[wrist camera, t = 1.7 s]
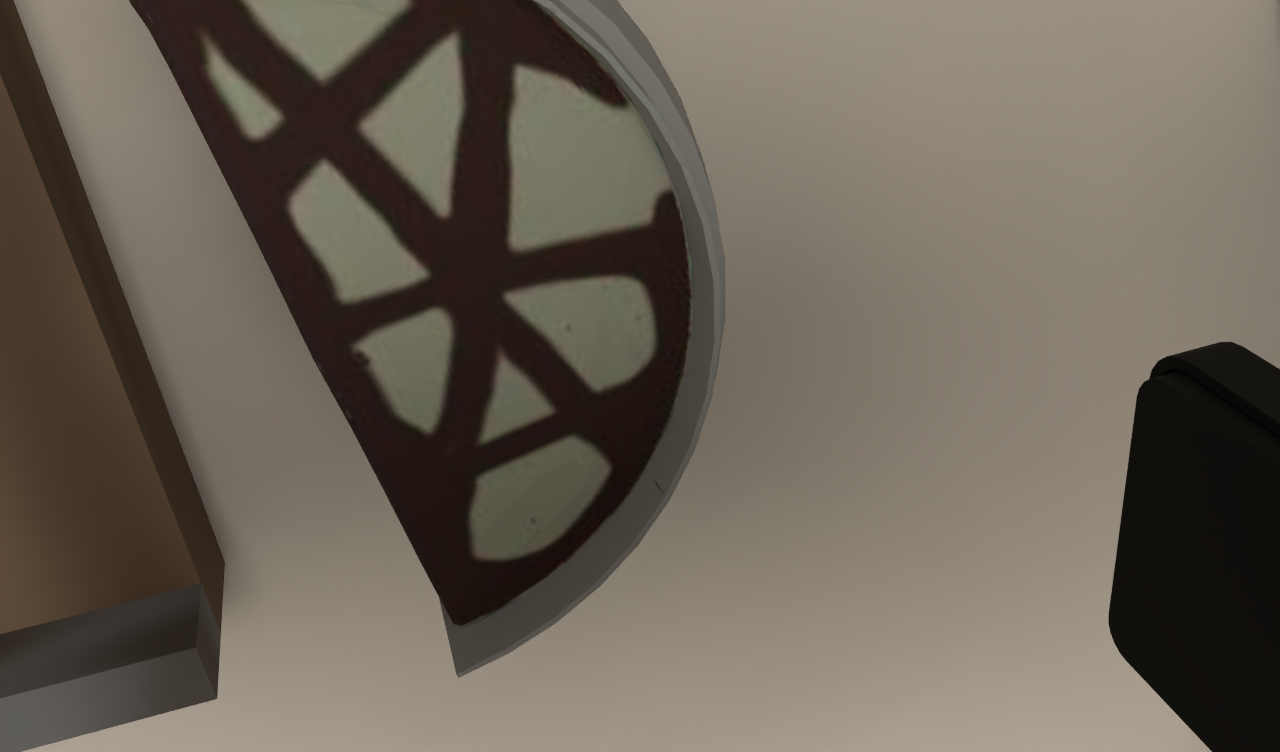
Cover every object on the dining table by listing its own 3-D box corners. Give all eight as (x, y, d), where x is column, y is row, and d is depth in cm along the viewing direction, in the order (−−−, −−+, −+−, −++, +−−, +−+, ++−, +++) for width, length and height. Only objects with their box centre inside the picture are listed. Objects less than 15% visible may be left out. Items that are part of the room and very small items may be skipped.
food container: (658, 290, 27) (835, 550, 19) (406, 388, 26) (470, 701, 18) (475, -305, 20) (620, -324, 12) (134, -191, 20) (35, -125, 11)
